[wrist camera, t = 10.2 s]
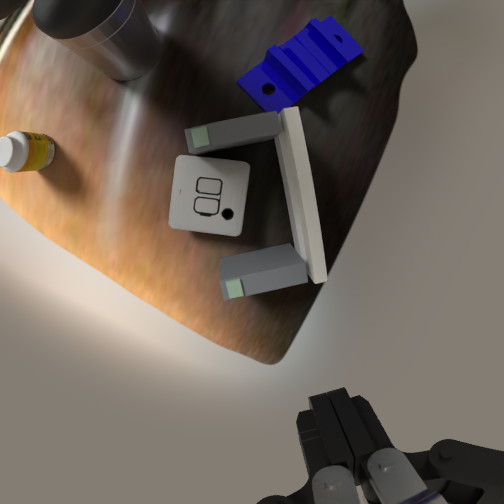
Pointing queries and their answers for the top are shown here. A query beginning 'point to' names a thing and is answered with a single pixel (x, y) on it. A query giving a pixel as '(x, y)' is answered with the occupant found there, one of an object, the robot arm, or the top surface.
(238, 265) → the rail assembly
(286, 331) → the top surface
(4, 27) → the top surface
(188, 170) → the electrical switch
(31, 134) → the supplement bottle
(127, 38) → the robot arm
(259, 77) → the mounting bracket
